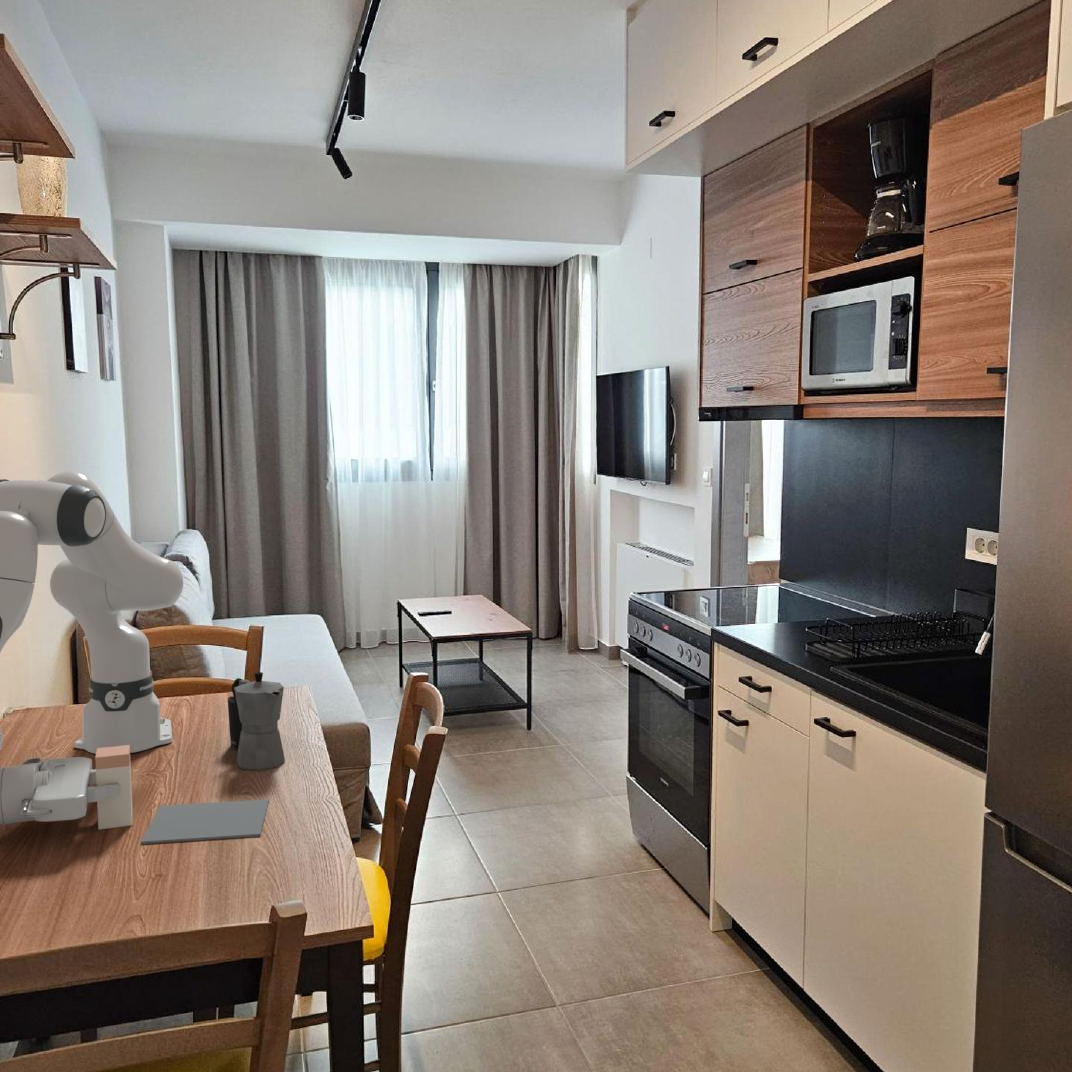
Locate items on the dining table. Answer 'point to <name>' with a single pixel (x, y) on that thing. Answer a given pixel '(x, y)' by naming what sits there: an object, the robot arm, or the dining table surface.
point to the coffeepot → (258, 723)
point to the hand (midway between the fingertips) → (120, 782)
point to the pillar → (111, 770)
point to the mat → (207, 821)
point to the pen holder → (234, 723)
